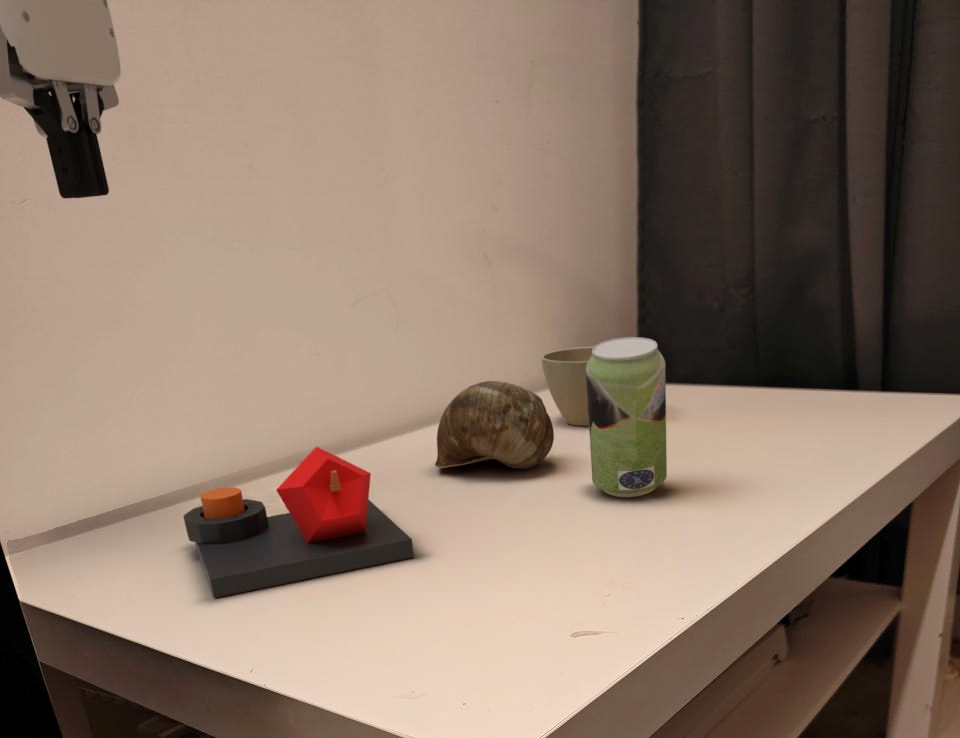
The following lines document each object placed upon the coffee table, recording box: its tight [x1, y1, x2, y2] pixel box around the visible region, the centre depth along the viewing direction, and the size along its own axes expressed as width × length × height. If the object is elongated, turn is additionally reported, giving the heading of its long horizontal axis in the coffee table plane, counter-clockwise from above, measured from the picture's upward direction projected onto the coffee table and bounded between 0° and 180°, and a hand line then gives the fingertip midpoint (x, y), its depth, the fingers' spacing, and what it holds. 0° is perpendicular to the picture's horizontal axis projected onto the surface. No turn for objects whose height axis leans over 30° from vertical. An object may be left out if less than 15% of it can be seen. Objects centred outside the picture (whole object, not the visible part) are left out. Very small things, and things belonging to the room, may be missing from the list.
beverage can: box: [586, 336, 668, 498], centre depth 74 cm, size 6×7×12 cm
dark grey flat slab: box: [183, 498, 415, 599], centre depth 69 cm, size 14×13×3 cm
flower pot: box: [540, 346, 594, 427], centre depth 100 cm, size 10×10×7 cm
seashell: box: [434, 380, 555, 470], centre depth 85 cm, size 11×9×8 cm
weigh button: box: [199, 486, 245, 519], centre depth 70 cm, size 3×3×2 cm
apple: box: [275, 446, 372, 543], centre depth 66 cm, size 7×7×8 cm
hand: (85, 196), depth 69 cm, fingers closed
